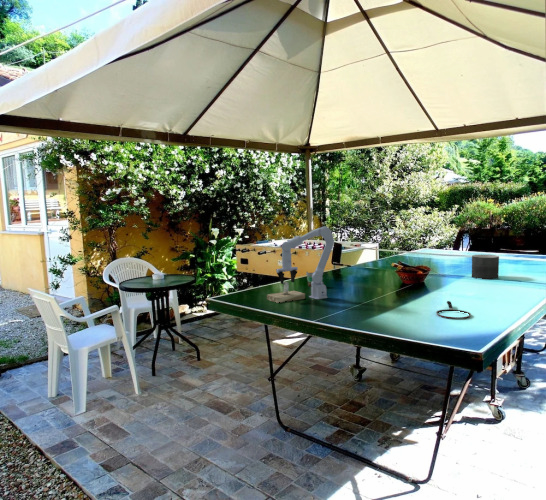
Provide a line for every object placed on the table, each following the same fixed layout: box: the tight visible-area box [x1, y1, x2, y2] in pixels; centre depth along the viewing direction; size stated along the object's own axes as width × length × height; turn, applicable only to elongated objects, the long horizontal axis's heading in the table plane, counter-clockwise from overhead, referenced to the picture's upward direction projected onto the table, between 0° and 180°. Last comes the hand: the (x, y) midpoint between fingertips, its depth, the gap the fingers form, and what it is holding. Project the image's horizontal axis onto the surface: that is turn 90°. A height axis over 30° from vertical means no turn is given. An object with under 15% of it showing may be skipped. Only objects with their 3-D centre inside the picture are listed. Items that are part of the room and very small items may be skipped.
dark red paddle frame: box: [435, 300, 472, 319], centre depth 229 cm, size 28×16×3 cm, turn 166°
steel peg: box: [283, 281, 290, 295], centre depth 271 cm, size 3×3×10 cm
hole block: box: [266, 290, 306, 304], centre depth 271 cm, size 12×20×3 cm, turn 120°
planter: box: [471, 254, 500, 280], centre depth 323 cm, size 18×18×16 cm
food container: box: [305, 271, 315, 288], centre depth 308 cm, size 12×6×10 cm, turn 62°
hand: (287, 282), depth 274 cm, fingers open, 7 cm apart
